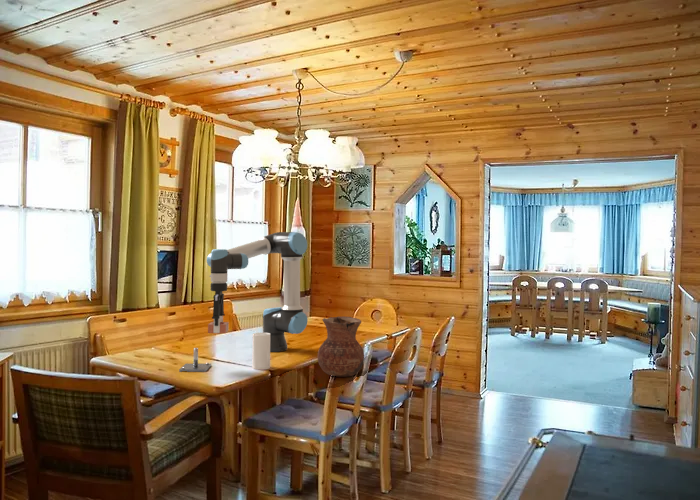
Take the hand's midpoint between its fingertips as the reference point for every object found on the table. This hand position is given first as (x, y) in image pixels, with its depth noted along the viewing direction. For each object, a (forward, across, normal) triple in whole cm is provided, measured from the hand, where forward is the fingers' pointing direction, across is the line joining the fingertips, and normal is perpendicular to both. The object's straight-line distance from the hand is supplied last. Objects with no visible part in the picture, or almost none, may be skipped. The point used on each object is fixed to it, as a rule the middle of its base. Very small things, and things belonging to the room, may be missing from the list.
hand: (218, 331), depth 253 cm
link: (0, 0, 0) cm, 0 cm away
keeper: (+17, 0, -10) cm, 20 cm away
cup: (+18, -2, +20) cm, 27 cm away
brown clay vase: (+18, +10, +57) cm, 60 cm away
